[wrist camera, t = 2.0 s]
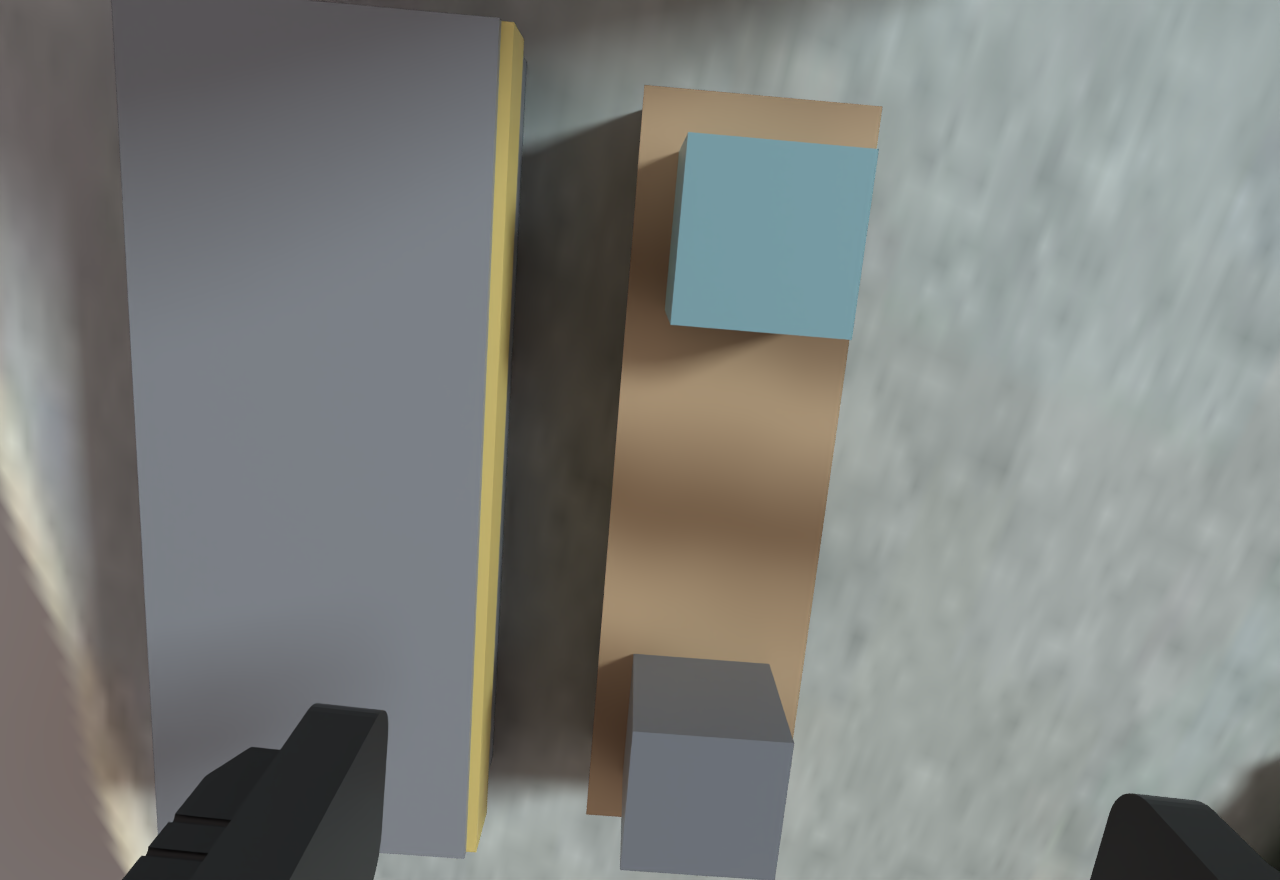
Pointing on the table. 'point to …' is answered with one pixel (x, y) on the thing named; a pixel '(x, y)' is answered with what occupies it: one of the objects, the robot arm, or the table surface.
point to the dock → (322, 381)
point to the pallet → (713, 447)
